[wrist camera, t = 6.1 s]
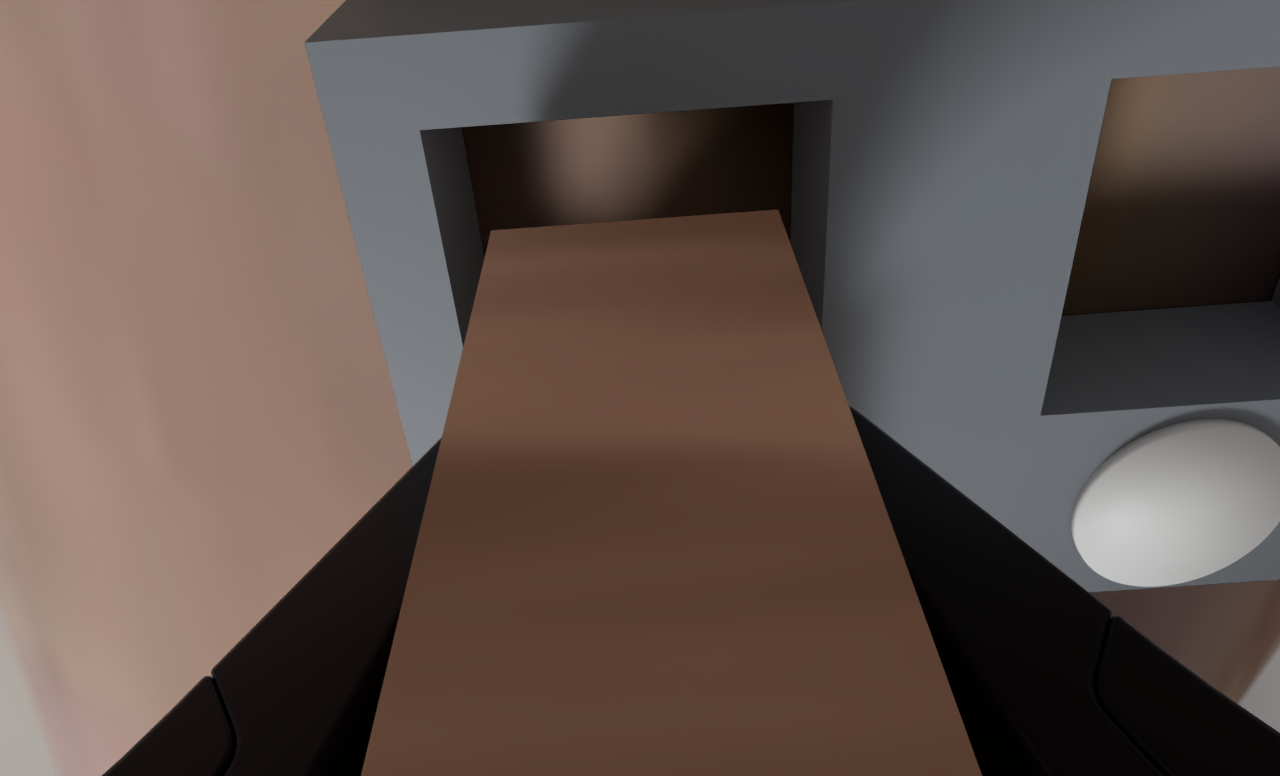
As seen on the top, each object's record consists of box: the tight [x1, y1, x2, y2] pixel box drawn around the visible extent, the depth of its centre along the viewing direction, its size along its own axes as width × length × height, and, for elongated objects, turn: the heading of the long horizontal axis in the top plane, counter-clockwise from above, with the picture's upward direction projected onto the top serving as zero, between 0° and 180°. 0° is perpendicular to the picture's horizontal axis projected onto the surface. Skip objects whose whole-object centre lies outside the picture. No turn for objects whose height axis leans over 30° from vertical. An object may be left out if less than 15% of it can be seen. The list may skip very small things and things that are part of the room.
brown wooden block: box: [361, 210, 982, 776], centre depth 8 cm, size 3×3×8 cm
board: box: [304, 0, 1280, 592], centre depth 12 cm, size 9×14×6 cm, turn 94°
